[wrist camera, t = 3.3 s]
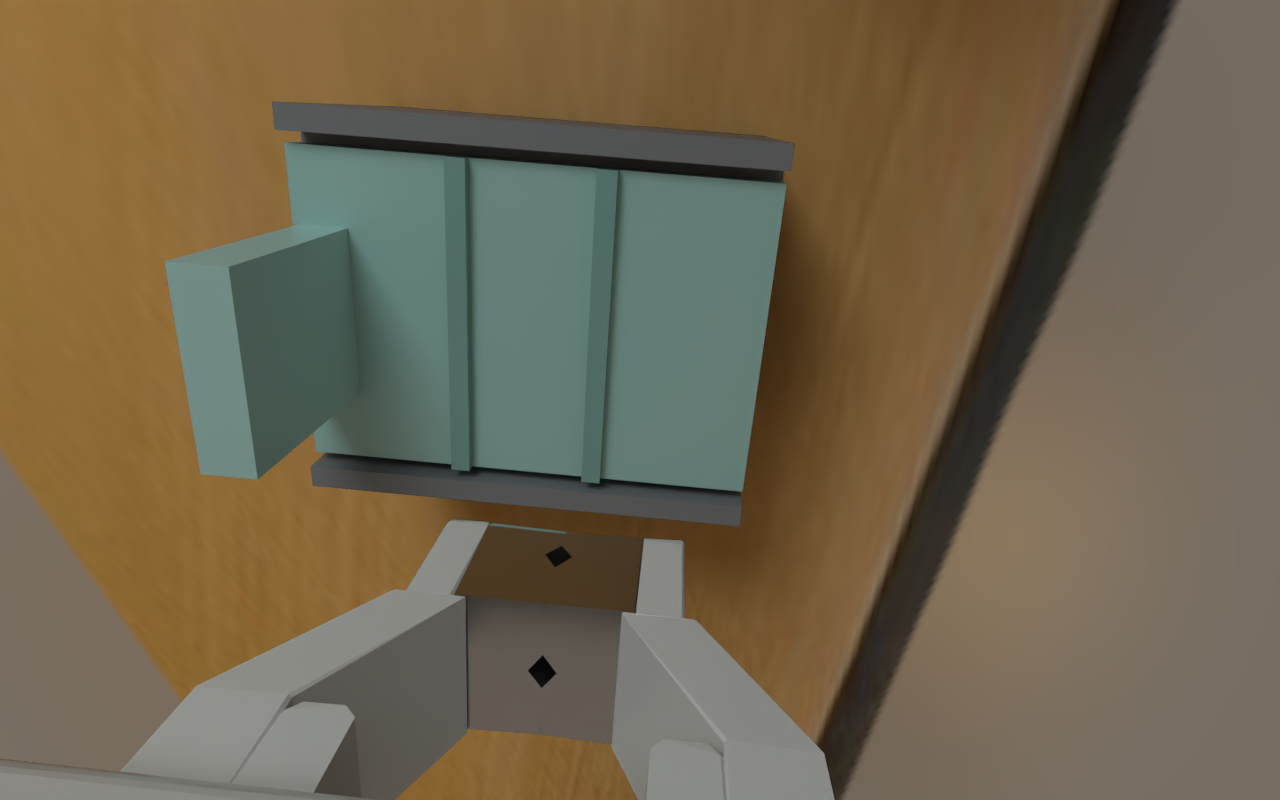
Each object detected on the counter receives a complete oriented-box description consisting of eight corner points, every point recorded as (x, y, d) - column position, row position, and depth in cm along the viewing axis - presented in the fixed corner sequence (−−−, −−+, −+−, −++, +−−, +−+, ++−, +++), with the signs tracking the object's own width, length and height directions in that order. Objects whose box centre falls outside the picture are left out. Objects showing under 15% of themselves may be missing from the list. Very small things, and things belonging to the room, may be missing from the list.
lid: (300, 141, 18) (134, 151, 13) (782, 180, 18) (825, 208, 12) (328, 439, 21) (205, 551, 16) (740, 478, 21) (760, 606, 15)
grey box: (391, 106, 23) (271, 101, 16) (762, 136, 23) (794, 143, 16) (405, 394, 27) (312, 485, 20) (725, 423, 27) (739, 526, 20)
